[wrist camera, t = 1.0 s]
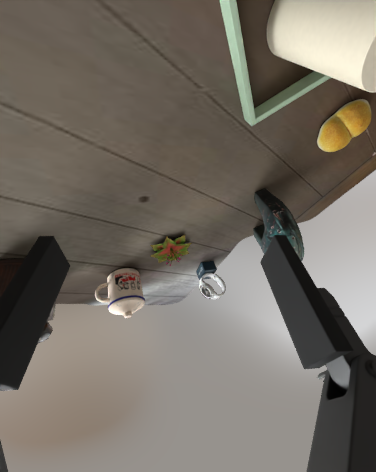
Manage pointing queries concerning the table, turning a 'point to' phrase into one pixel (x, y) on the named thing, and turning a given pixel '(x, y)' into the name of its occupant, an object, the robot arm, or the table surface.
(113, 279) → the teacup with lid
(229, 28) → the green square frame
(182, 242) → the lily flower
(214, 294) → the watch
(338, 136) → the bread roll
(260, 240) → the ceramic cat
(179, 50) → the table surface
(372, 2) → the pillar candle
